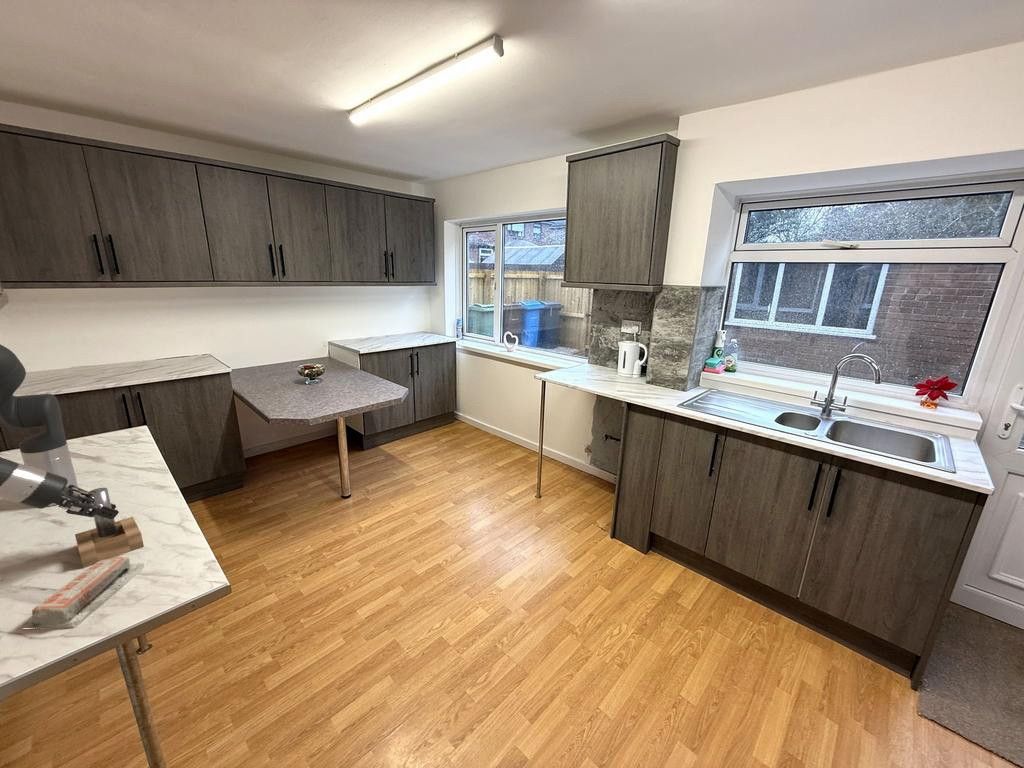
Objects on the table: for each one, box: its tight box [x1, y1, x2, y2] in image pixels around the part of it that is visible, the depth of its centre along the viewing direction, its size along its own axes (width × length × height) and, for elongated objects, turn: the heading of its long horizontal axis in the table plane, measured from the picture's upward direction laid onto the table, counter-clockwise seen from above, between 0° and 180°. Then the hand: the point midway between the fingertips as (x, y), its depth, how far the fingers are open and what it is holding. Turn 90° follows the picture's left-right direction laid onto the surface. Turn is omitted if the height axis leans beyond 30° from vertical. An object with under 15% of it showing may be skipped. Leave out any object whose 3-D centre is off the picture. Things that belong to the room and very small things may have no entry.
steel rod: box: [88, 487, 117, 538], centre depth 102 cm, size 3×3×12 cm
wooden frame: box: [74, 516, 145, 569], centre depth 105 cm, size 11×11×4 cm
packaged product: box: [20, 555, 145, 630], centre depth 89 cm, size 18×5×10 cm
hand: (114, 512), depth 104 cm, fingers closed on steel rod, 3 cm apart
